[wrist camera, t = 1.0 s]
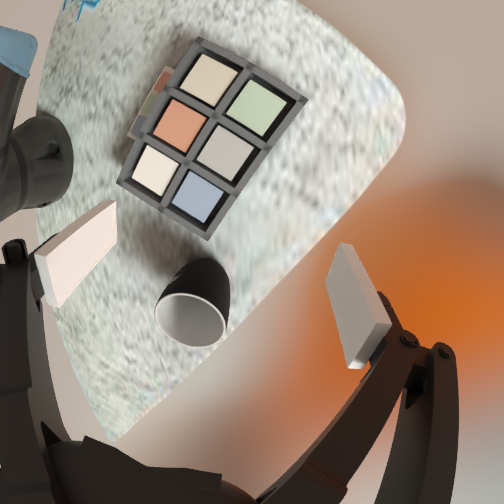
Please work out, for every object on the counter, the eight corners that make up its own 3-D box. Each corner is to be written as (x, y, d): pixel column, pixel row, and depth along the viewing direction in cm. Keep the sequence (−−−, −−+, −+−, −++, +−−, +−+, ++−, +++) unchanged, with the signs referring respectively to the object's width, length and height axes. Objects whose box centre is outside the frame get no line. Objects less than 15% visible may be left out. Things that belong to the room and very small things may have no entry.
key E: (229, 113, 28) (226, 113, 26) (251, 81, 26) (250, 79, 24) (262, 135, 28) (262, 136, 27) (286, 103, 27) (286, 102, 25)
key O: (138, 173, 31) (131, 177, 30) (154, 143, 29) (147, 145, 28) (167, 191, 32) (161, 196, 31) (184, 161, 30) (178, 164, 29)
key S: (185, 89, 26) (179, 87, 24) (206, 57, 24) (202, 53, 23) (217, 107, 27) (214, 106, 25) (240, 75, 25) (238, 72, 24)
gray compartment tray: (115, 164, 33) (98, 171, 29) (187, 36, 25) (176, 27, 21) (214, 226, 36) (207, 241, 32) (303, 102, 28) (308, 99, 24)
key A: (177, 197, 33) (171, 202, 31) (194, 167, 31) (189, 170, 29) (207, 216, 34) (203, 223, 32) (226, 187, 32) (223, 192, 30)
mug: (187, 240, 38) (162, 280, 29) (246, 265, 39) (237, 312, 30) (166, 300, 43) (145, 344, 34) (217, 321, 44) (205, 368, 35)
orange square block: (159, 132, 29) (153, 133, 27) (178, 100, 27) (172, 99, 25) (190, 150, 30) (185, 152, 28) (210, 118, 28) (206, 118, 26)
